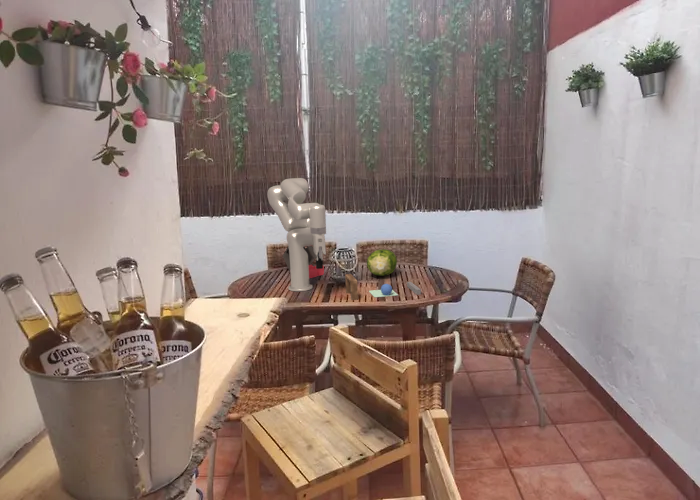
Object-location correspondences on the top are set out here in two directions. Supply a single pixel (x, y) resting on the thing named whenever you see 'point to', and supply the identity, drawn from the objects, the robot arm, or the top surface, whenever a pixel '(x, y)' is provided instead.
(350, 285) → the bridge
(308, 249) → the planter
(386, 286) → the ball
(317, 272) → the tape dispenser
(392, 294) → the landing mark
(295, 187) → the robot arm
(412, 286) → the wall
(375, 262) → the lettuce
